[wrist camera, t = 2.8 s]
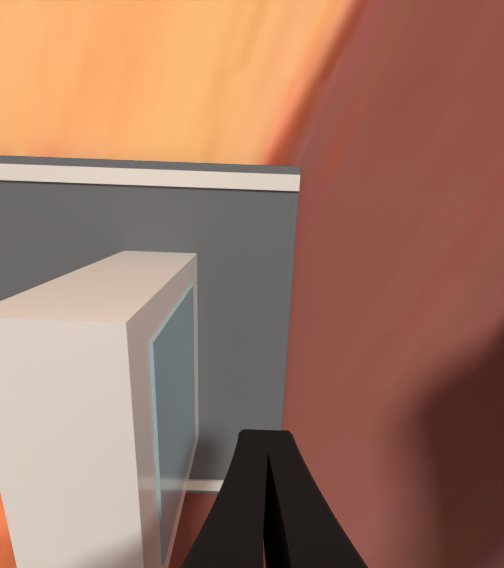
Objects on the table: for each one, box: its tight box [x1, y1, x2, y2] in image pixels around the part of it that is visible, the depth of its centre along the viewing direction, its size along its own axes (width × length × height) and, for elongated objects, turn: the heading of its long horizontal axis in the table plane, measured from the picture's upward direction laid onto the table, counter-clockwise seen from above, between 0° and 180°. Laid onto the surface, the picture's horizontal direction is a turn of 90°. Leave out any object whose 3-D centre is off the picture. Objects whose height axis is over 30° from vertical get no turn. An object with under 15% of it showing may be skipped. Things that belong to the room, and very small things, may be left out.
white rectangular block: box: [0, 251, 199, 568], centre depth 11 cm, size 3×9×8 cm, turn 178°
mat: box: [0, 155, 300, 494], centre depth 14 cm, size 20×16×1 cm
